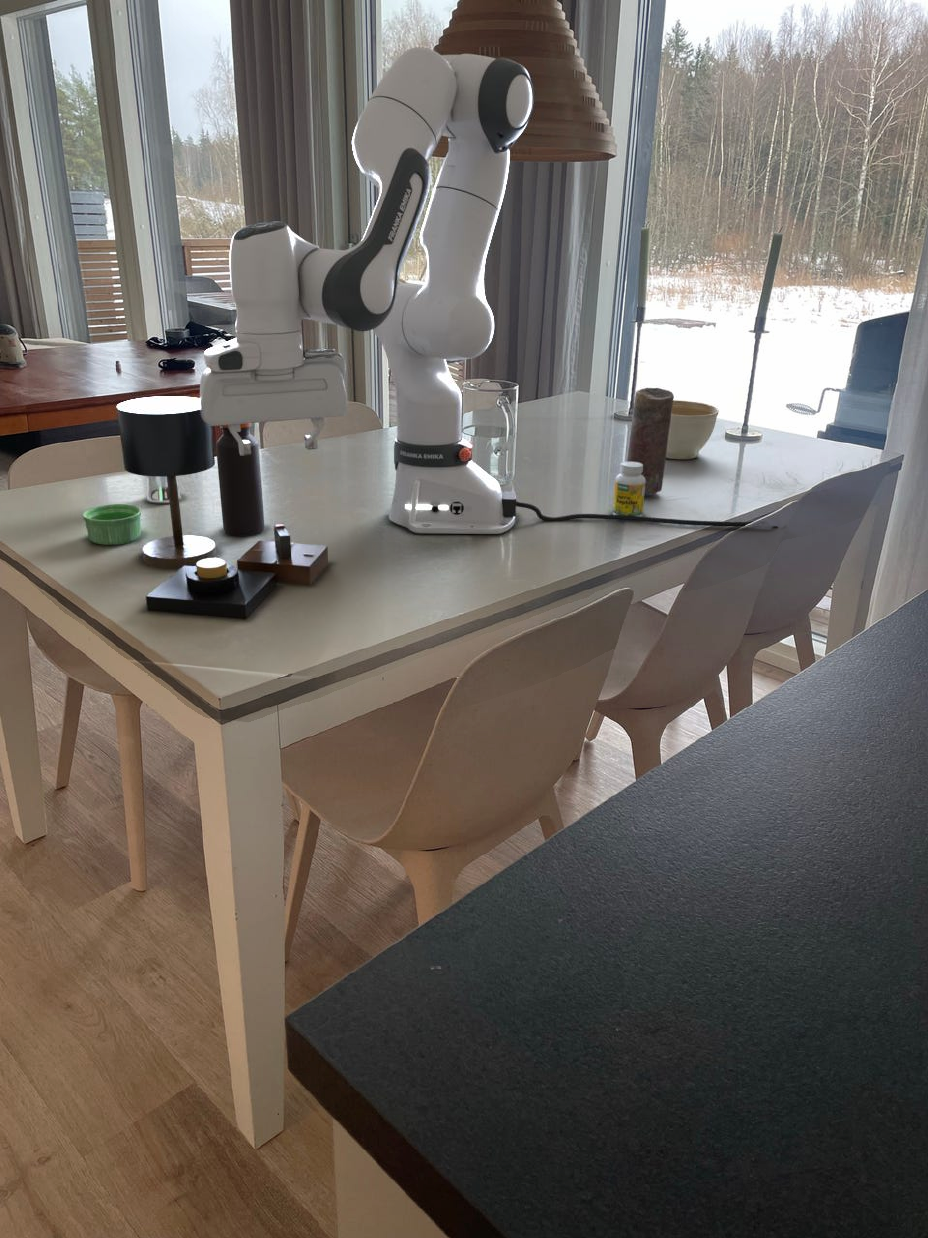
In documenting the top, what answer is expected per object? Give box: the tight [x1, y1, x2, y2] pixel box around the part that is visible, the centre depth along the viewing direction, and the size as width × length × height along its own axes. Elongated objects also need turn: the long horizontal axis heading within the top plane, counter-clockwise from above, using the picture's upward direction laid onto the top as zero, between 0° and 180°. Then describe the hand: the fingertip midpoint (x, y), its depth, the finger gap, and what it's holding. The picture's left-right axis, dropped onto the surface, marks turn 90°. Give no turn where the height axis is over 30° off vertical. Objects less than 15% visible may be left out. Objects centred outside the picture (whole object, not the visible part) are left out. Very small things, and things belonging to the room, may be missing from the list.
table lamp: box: [115, 395, 217, 569], centre depth 140 cm, size 13×13×24 cm
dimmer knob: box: [273, 523, 292, 559], centre depth 138 cm, size 5×2×4 cm, turn 21°
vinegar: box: [215, 423, 266, 537], centre depth 153 cm, size 7×7×20 cm
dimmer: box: [236, 540, 329, 586], centre depth 139 cm, size 11×9×3 cm
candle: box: [626, 387, 675, 497], centre depth 178 cm, size 8×7×20 cm
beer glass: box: [146, 476, 182, 505], centre depth 169 cm, size 7×7×15 cm
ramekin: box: [82, 503, 142, 546], centre depth 151 cm, size 9×9×4 cm
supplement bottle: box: [612, 461, 646, 517], centre depth 167 cm, size 5×5×10 cm
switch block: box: [145, 563, 278, 621], centre depth 129 cm, size 14×12×4 cm
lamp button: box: [196, 557, 227, 578], centre depth 128 cm, size 4×4×2 cm
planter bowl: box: [666, 399, 720, 461], centre depth 209 cm, size 16×16×11 cm
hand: (278, 451), depth 133 cm, fingers open, 8 cm apart
